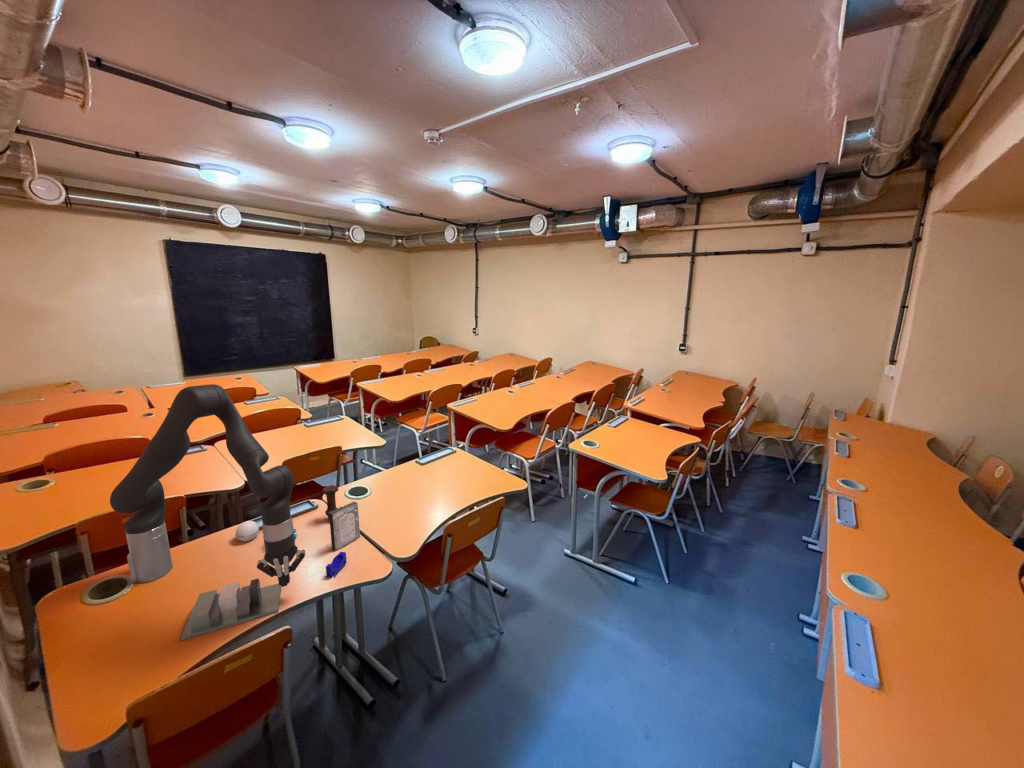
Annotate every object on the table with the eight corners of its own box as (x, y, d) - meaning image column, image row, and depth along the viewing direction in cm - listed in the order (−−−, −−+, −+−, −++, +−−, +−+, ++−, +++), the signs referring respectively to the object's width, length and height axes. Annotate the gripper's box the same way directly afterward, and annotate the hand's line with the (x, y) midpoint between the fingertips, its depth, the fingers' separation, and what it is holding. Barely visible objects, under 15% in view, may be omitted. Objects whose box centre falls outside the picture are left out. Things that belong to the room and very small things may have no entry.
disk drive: (335, 551, 137) (332, 514, 134) (331, 548, 139) (328, 511, 136) (360, 537, 146) (358, 502, 143) (356, 535, 147) (354, 500, 144)
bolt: (342, 521, 156) (339, 488, 153) (330, 526, 152) (327, 492, 149) (335, 516, 160) (332, 483, 157) (323, 521, 156) (320, 488, 153)
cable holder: (337, 561, 132) (336, 551, 131) (346, 562, 132) (345, 552, 131) (322, 576, 125) (321, 566, 124) (332, 578, 124) (331, 567, 123)
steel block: (221, 618, 106) (218, 599, 105) (225, 603, 111) (222, 585, 110) (238, 613, 108) (235, 595, 106) (241, 599, 113) (239, 581, 112)
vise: (181, 640, 100) (178, 624, 99) (194, 608, 110) (191, 593, 109) (278, 612, 110) (276, 597, 109) (281, 585, 120) (280, 571, 119)
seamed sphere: (232, 541, 142) (230, 523, 140) (254, 532, 148) (252, 514, 147) (245, 550, 137) (243, 532, 135) (267, 540, 143) (265, 522, 141)
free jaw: (237, 618, 106) (234, 599, 105) (243, 594, 115) (240, 577, 113) (258, 612, 108) (255, 593, 107) (262, 589, 117) (260, 572, 116)
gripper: (249, 546, 105) (257, 600, 108) (303, 534, 111) (309, 585, 114) (253, 532, 111) (260, 583, 115) (304, 521, 117) (309, 570, 121)
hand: (284, 584), depth 114 cm, fingers closed
